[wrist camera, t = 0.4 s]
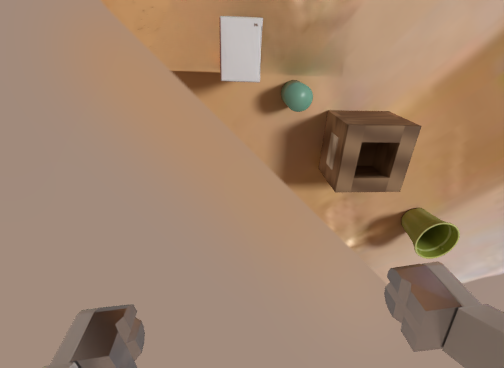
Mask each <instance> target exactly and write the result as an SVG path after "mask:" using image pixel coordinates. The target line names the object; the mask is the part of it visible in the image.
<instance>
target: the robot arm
mask: <svg viewBox="0 0 504 368" xmlns="http://www.w3.org/2000/svg"><path fill="white" fill-rule="evenodd" d="M387 278H388V279H389V281H390V283H389V284H388V285H387V286H386V287H385V293H384V294H385V301H386V304H387V307H388V309H389V311H390V313H391V315H392V316H393V317H394V318H395V319H396V320H398V321H399V322H401V323H402V326H401V332H402V333H403V335H404V336H405V338H406V340H407V342H408V343H409V345H410V346H411V348H412V349H413V351H414V352H417V351H425V350H433V349H443V351H444V352H445V353H447V354H448V355H449V356H451V357H452V358H453V359H454V360H455V361H457V362H458V363H459V364H461V365H462V366H463V367H465V368H504V312H502V311H500V310H498V309H496V308H494V307H492V306H490V305H488V304H481V303H480V302H479V301H478V300H477V299H476V298H475V297H474V296H473V295H472V294H471V293H470V292H469V291H468V290H467V289H466V287H464V286H463V284H462V283H461V282H460V281H459V280H458V279H457V278H456V277H455V276H454V275H453V274H452V273H451V272H450V271H449V270H448V269H447V268H446V267H445V266H444V265H443V264H442V263H440V262H432V263H424V264H416V265H409V266H402V267H396V268H391V269H390V270H389V271H388V275H387ZM136 313H137V310H136V309H135V307H134V305H121V306H112V307H103V308H95V309H87V310H82V311H81V312H79V313H78V314H77V316H76V318H75V319H74V321H73V323H72V325H71V327H70V328H69V330H68V332H67V334H66V336H65V338H64V340H63V341H62V343H61V345H60V347H59V349H58V351H57V352H56V354H55V356H54V358H53V360H52V362H51V363H50V365H49V366H44V367H43V368H137V366H136V364H135V360H136V359H137V357H138V356H139V355H140V354H141V353H142V349H143V345H144V336H145V335H144V334H145V332H144V326H143V324H142V321H141V320H139V319H137V318H136V317H135V316H136Z"/></svg>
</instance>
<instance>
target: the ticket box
mask: <svg viewBox="0 0 504 368" xmlns="http://www.w3.org/2000/svg"><path fill="white" fill-rule="evenodd" d="M420 129H421V126H420V125H418V124H415V123H413V122H411V121H409V120H407V119H404V118H402V117H400V116H398V115H396V114H393V113H391V112H389V111H332V110H328V114H327V120H326V126H325V133H324V139H323V145H322V151H321V157H320V164H319V170H320V171H321V173H322V174H323V175H324V177H325V178H326V180H327V181H328V183H329V184H330V185H331V187H332V188H333V190H334V191H335V192H400V190H401V187H402V184H403V181H404V178H405V175H406V172H407V169H408V166H409V163H410V159H411V156H412V153H413V150H414V147H415V144H416V141H417V138H418V135H419V132H420Z"/></svg>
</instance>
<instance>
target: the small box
mask: <svg viewBox="0 0 504 368" xmlns="http://www.w3.org/2000/svg"><path fill="white" fill-rule="evenodd" d="M262 25H263V18H259V17H237V16H220V70H221V81H234V82H260V60H261V39H262Z"/></svg>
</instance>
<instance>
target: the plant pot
mask: <svg viewBox="0 0 504 368" xmlns="http://www.w3.org/2000/svg"><path fill="white" fill-rule="evenodd" d="M402 226H403V228H404V229H405V231H406V232H407V234H408V235H409V237H410V239H411V240H412V242H413V245H414V249H415V252H416V253H417V254H418V255H419V256H420V257H422V258H427V259H432V258H437V257H440V256H442V255H445V254H446V253H448V252H449V251H450V250H452V249H453V247H455V245H456V244H457V242H458V240H459V236H460V233H459V229H458V228H457V227H456V226H455V225H453V224H451V223H447V222H445V221H442V220H440V219H438V218H437V217H435V216H433V215H432V214H430V213H429V212H427V211H425V210H424V209H422V208H417V209H411V210H409V211H407V212H406V213H405V214H404V215H403V217H402Z"/></svg>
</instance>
